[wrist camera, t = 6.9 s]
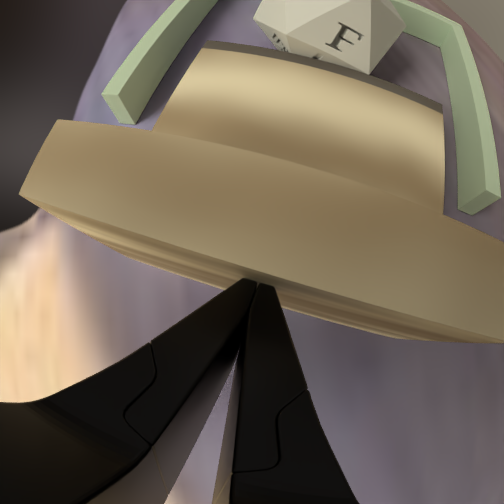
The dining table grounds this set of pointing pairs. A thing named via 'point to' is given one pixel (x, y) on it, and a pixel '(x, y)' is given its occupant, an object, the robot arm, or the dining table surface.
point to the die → (332, 29)
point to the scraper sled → (286, 195)
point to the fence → (417, 24)
